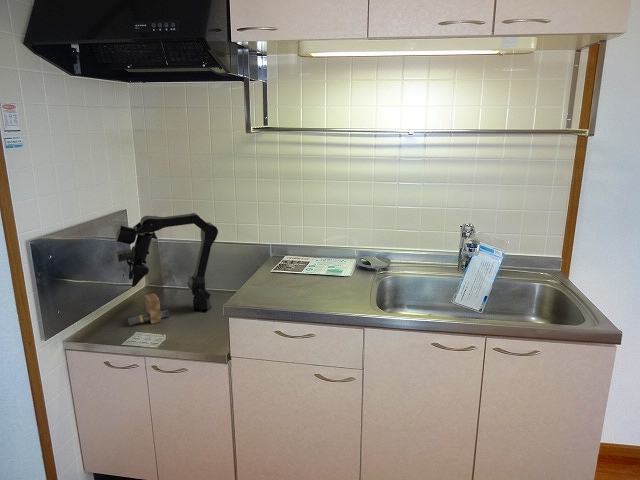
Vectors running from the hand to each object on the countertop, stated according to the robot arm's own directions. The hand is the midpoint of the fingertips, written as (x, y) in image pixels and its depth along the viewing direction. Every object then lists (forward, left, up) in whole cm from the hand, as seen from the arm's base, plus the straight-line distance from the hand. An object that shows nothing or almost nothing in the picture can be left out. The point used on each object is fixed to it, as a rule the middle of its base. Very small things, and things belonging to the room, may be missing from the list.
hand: (131, 282), depth 193 cm
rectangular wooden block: (-6, -4, -18) cm, 19 cm away
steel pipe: (-5, -2, -18) cm, 18 cm away
